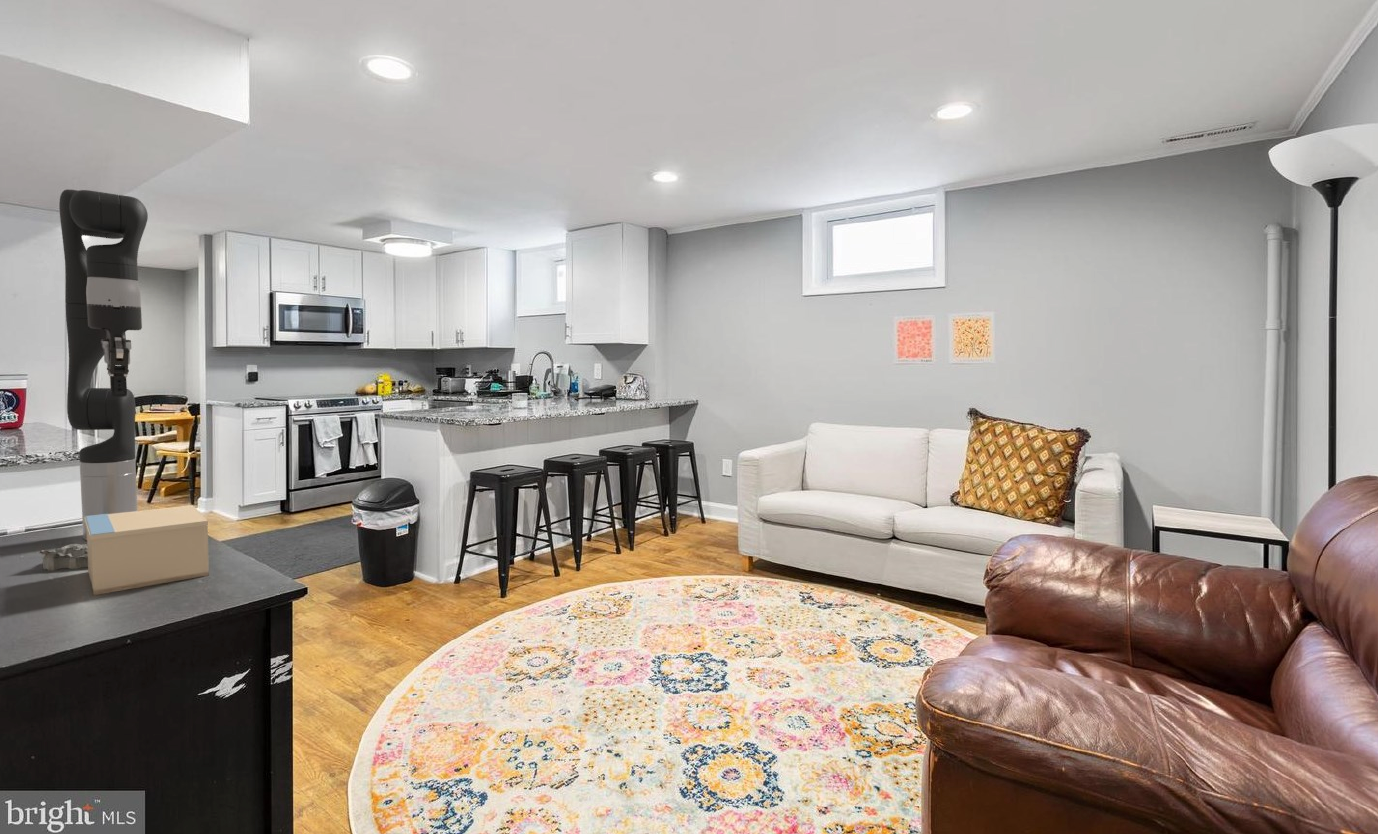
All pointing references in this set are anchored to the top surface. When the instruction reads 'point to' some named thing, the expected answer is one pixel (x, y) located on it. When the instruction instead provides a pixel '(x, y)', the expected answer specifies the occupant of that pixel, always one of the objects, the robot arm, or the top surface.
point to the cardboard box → (147, 558)
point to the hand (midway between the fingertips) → (119, 396)
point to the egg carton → (66, 557)
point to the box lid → (143, 521)
